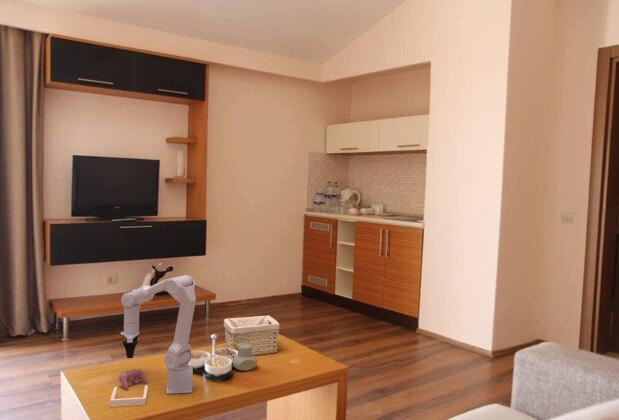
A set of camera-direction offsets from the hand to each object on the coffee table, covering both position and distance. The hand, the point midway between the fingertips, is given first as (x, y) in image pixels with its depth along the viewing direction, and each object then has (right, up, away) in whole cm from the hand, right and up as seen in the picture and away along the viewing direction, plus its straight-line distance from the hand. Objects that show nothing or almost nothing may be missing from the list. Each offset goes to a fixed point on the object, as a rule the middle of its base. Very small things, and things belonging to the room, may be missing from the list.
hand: (130, 354), depth 211 cm
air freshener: (+44, -11, +16) cm, 48 cm away
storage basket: (+44, -9, +39) cm, 59 cm away
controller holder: (+6, -11, -18) cm, 22 cm away
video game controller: (+3, -10, -6) cm, 13 cm away
